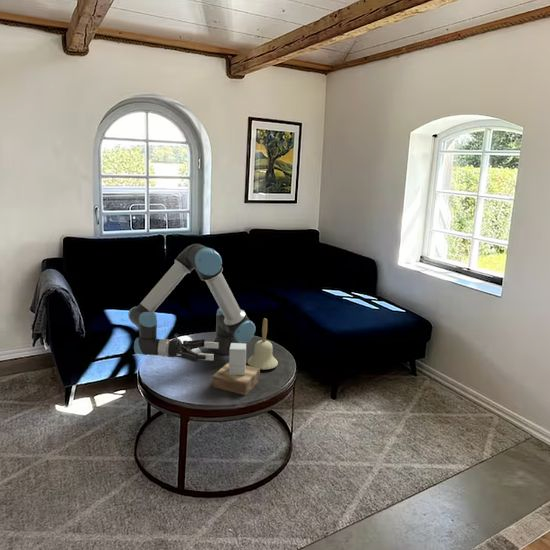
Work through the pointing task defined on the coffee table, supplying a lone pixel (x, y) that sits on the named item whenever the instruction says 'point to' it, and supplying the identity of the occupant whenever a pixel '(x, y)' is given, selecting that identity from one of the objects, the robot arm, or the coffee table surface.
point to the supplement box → (237, 359)
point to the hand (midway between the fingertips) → (216, 351)
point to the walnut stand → (236, 380)
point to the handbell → (263, 352)
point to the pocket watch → (177, 339)
